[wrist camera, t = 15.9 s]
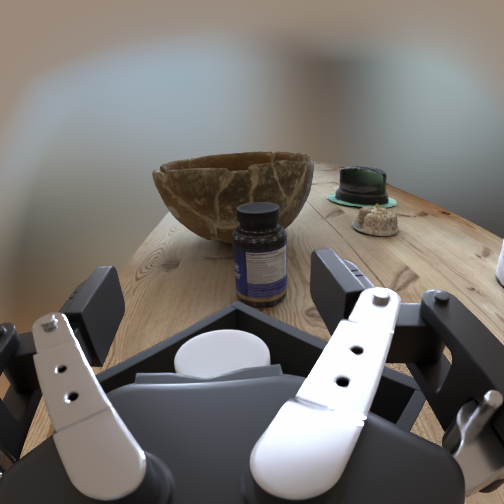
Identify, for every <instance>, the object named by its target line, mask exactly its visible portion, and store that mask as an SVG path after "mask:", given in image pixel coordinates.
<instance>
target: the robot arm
mask: <svg viewBox="0 0 504 504" xmlns="http://www.w3.org/2000/svg"><path fill="white" fill-rule="evenodd" d="M310 293H311V297H312V300H313V302H314V304H315V306H316V308H317V310H318V312H319V313H320V315H321V317H322V319H323V321H324V323H325V325H326V327H327V329H328V331H329V333H330V334H331V336H332V337H331V339H330V341H329V343H328V344H327V346H326V348H325V349H324V351H323V353H322V355H321V356H320V358H319V360H318V361H317V363H316V365H315V366H314V368H313V370H312V371H311V373H310V374H309V376H308V378H305V377H300V376H296V375H289V374H283V373H282V369H281V365H280V364H276V365H268V366H259V367H250V368H243V369H239V370H235V371H232V372H228V373H224V374H220V375H216V376H212V377H208V378H203V377H195V376H188V375H182V374H175V373H137V374H136V378H135V382H134V383H133V384H129V385H125V386H122V387H119V388H117V389H114V390H112V391H110V392H109V393H107V394H105V393H104V391H103V389H102V387H101V386H100V384H99V382H98V380H97V378H96V377H95V375H94V373H93V371H92V369H91V367H90V366H92V367H103V364H104V362H105V359H106V357H107V354H108V352H109V349H110V347H111V344H112V342H113V339H114V337H115V334H116V332H117V330H118V327H119V325H120V323H121V320H122V318H123V316H124V313H125V302H124V298H123V294H122V290H121V286H120V282H119V278H118V274H117V271H116V269H115V267H114V266H111V267H110V266H109V267H97V268H96V269H95V270H94V272H93V273H92V274H91V276H90V277H89V278H88V279H87V280H86V281H84V282H83V283H81V284H80V285H79V286H78V287H77V288H76V289H75V290H74V292H73V294H71V296H70V297H69V299H68V300H67V301H66V303H65V304H64V305H63V307H62V308H61V309H60V311H59V312H57V313H50V314H47V315H45V316H42V317H41V318H39V319H38V320H37V321H36V322H35V323H34V324H33V326H32V332H28V333H23V334H18V333H17V331H16V328H15V326H14V325H13V324H12V323H2V324H0V376H1V374H2V372H4V374H5V376H6V377H7V379H8V380H9V382H10V384H11V385H10V387H9V389H8V391H7V392H6V394H5V397H4V399H3V401H2V400H1V398H0V504H464V502H465V498H467V497H469V496H471V495H472V494H474V493H476V492H478V491H479V492H482V493H489V492H492V491H494V490H496V489H497V488H498V487H499V486H501V485H502V484H503V483H504V345H503V344H502V343H501V342H500V341H499V340H498V339H497V338H496V337H495V336H494V335H493V334H492V333H491V332H490V331H489V330H488V329H487V328H486V326H485V325H484V324H483V323H482V322H481V321H480V320H479V319H478V318H477V317H476V316H475V315H474V314H473V313H472V312H471V311H470V310H468V309H467V308H466V307H465V306H464V305H463V304H462V303H461V302H460V301H459V300H458V299H457V298H456V297H455V296H454V295H452V294H450V293H448V292H445V291H442V290H429V291H426V292H425V293H424V294H423V297H422V301H421V304H420V303H401V298H400V296H399V295H398V294H397V293H395V292H393V291H391V290H389V289H385V288H375V286H374V285H373V284H372V283H371V282H370V281H369V280H368V279H367V278H366V277H365V276H364V274H363V273H362V272H361V271H359V269H358V268H357V267H356V266H355V265H354V264H353V263H351V262H349V261H347V260H345V259H340V258H339V257H338V256H337V255H336V254H335V252H334V251H333V250H332V249H319V250H313V251H312V254H311V273H310ZM445 346H447V348H448V349H449V350H450V352H451V355H452V365H451V363H450V362H449V361H448V359H447V358H446V357H445V355H444V354H443V351H444V348H445ZM385 363H405V364H406V366H407V367H408V369H409V371H410V372H411V374H412V376H413V377H414V379H415V381H416V382H417V384H418V386H419V388H420V389H421V391H422V393H423V394H424V396H425V398H426V400H427V401H428V403H429V405H430V407H431V408H432V410H433V412H434V414H435V416H436V417H437V419H438V421H439V423H440V425H441V426H442V428H443V430H444V432H445V433H444V435H443V439H442V446H443V448H442V447H441V446H439V445H437V444H435V443H433V442H430V441H428V440H426V439H424V438H422V437H420V436H418V435H416V434H414V433H411V432H409V431H407V430H405V429H403V428H401V427H399V426H397V425H395V424H393V423H391V422H390V421H388V420H386V419H384V418H382V417H380V416H378V415H376V414H374V413H372V412H370V408H371V405H372V402H373V400H374V397H375V394H376V391H377V388H378V385H379V382H380V379H381V376H382V373H383V369H384V366H385ZM42 395H43V398H44V401H45V404H46V408H47V411H48V414H49V417H50V420H51V423H52V426H53V429H54V432H53V435H51V436H50V437H49V438H47V439H46V440H45V441H43V442H42V443H41V444H39V445H38V446H37V447H35V448H34V449H33V450H31V451H30V452H29V453H27V454H26V455H25V456H23V457H22V458H21V459H19V458H20V455H21V452H22V449H23V446H24V443H25V440H26V437H27V434H28V431H29V428H30V426H31V423H32V420H33V417H34V415H35V412H36V410H37V407H38V405H39V402H40V400H41V397H42Z"/></svg>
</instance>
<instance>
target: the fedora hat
mask: <svg viewBox="0 0 504 504" xmlns="http://www.w3.org/2000/svg"><path fill="white" fill-rule="evenodd" d="M386 174H387V173H386V172H384V171H382V170H380V169H378V168H371V167H361V166H355V167H354V166H353V167H348V168H343V169H340V187H339V189H338V190H337V191H336V193H334V194H330V195H329V196H327V198H328V199H329V200H331V201H334V202H337V203H339V204H344V205H353V206H359V207H375V206H376V204H378V207H381V208H386V207H392V206H394V205H396V204H397V203H396V201H395V200H394V199H390V198H389V197H388V195H387V193H386Z"/></svg>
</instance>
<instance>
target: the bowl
mask: <svg viewBox="0 0 504 504" xmlns="http://www.w3.org/2000/svg"><path fill="white" fill-rule="evenodd" d="M313 171H314V162H313V160H312V159H311V157H310V156H308V155H307V154H302V153H296V154H294V153H289V152H274V153H272V152H245V153H234V154H221V155H211V156H205V157H200V158H196V159H194V158H192V159H186V160H179V161H173V162H170V163H166V164H163V165H162V166H161V167H160V172H159V171H155V170H154V171H153V174H152V175H153V180H154V183H155V185H156V187H157V189H158V191H159V193H160V195H161V197H162V199H163V201H164V203H165V205H166V206H167V208H168V209H169V211H170V212H171V213H172V215H173V216H174V217H175V218H176V219H177V220H178V221H179V222H180V223H182V224H183V225H184V226H185V227H187V228H188V229H189V230H190V231H192V232H194V233H195V234H197V235H199V236H201V237H203V238H205V239H208V240H216V241H219V242H222V243H228V244H232V234H233V231H234V230H235V229H236V228H237V227H238V226H240V223H239V221H238V220H237V214H236V209H237V207H238V206H240V205H242V204H247V203H253V202H268V203H274V204H277V205H278V206H279V208H280V218H279V220H278V224H279V225H281V226H282V227H283V228H284V229H286V228H287V227H288V226H289V225H290V224H291V223H292V222H293V221H294V220H295V218H296V217H297V216H298V214H299V213H300V211H301V209H302V208H303V206H304V204H305V202H306V200H307V198H308V196H309V193H310V190H311V185H312V179H313Z"/></svg>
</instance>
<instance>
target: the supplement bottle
mask: <svg viewBox="0 0 504 504" xmlns="http://www.w3.org/2000/svg"><path fill="white" fill-rule="evenodd" d="M268 365H270V353H269V349H268V347H267V345H266V344H265V343H264V342H263V341H262V340H261V339H260V338H258V337H257V336H255V335H253V334H250V333H248V332H244V331H239V330H216V331H211V332H207V333H203V334H200V335H198V336H196V337H194V338H192V339H190V340H189V341H187V342H186V343H185V344H183V345H182V346H181V348H180V349H179V350H178V352H177V353H176V356H175V359H174V366H175V371H176V374H182V375H188V376H195V377H203V378H208V377H212V376H216V375H220V374H224V373H228V372H232V371H235V370H239V369H243V368H250V367H259V366H268Z"/></svg>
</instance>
